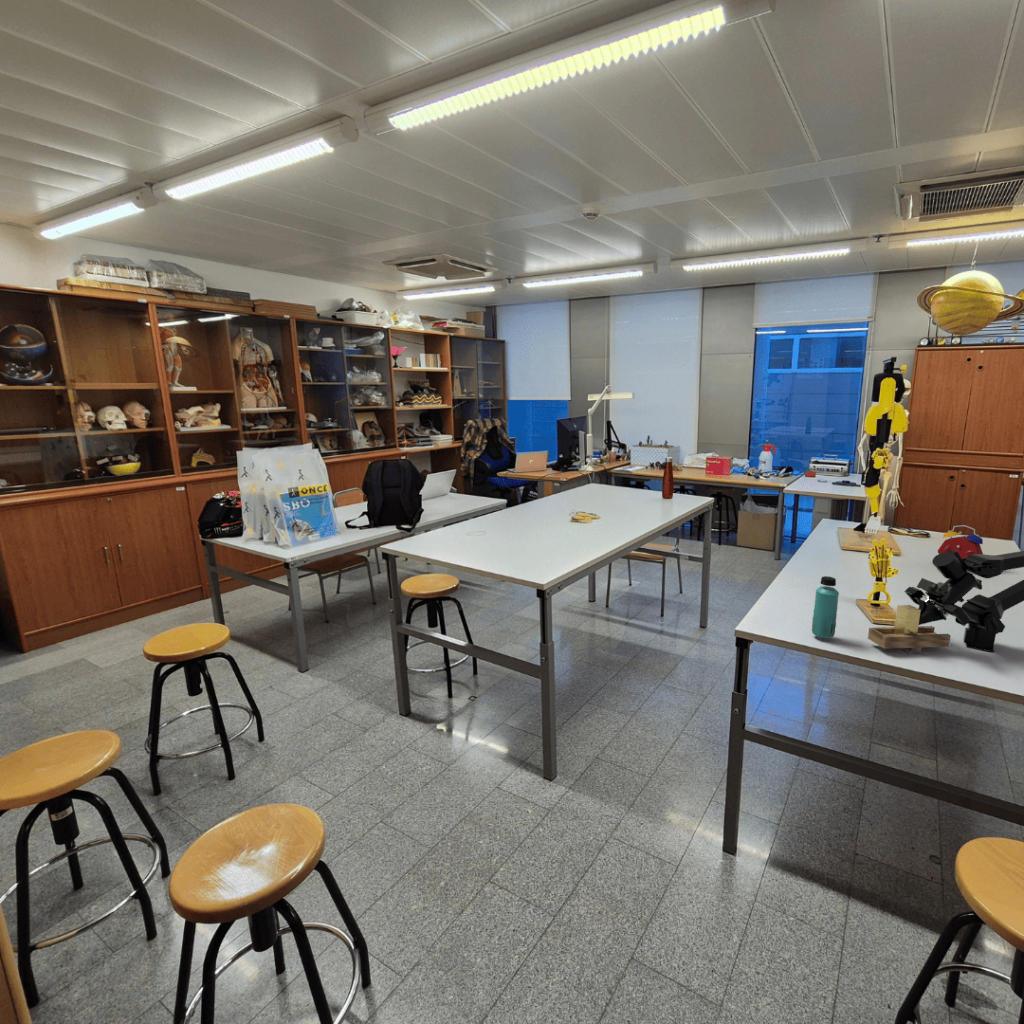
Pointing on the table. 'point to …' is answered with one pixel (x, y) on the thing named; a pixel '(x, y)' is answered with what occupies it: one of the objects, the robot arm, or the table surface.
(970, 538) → the alarm clock
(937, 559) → the robot arm
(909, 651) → the wooden footed tray
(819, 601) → the beverage bottle
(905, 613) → the beige upright block
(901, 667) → the table surface
